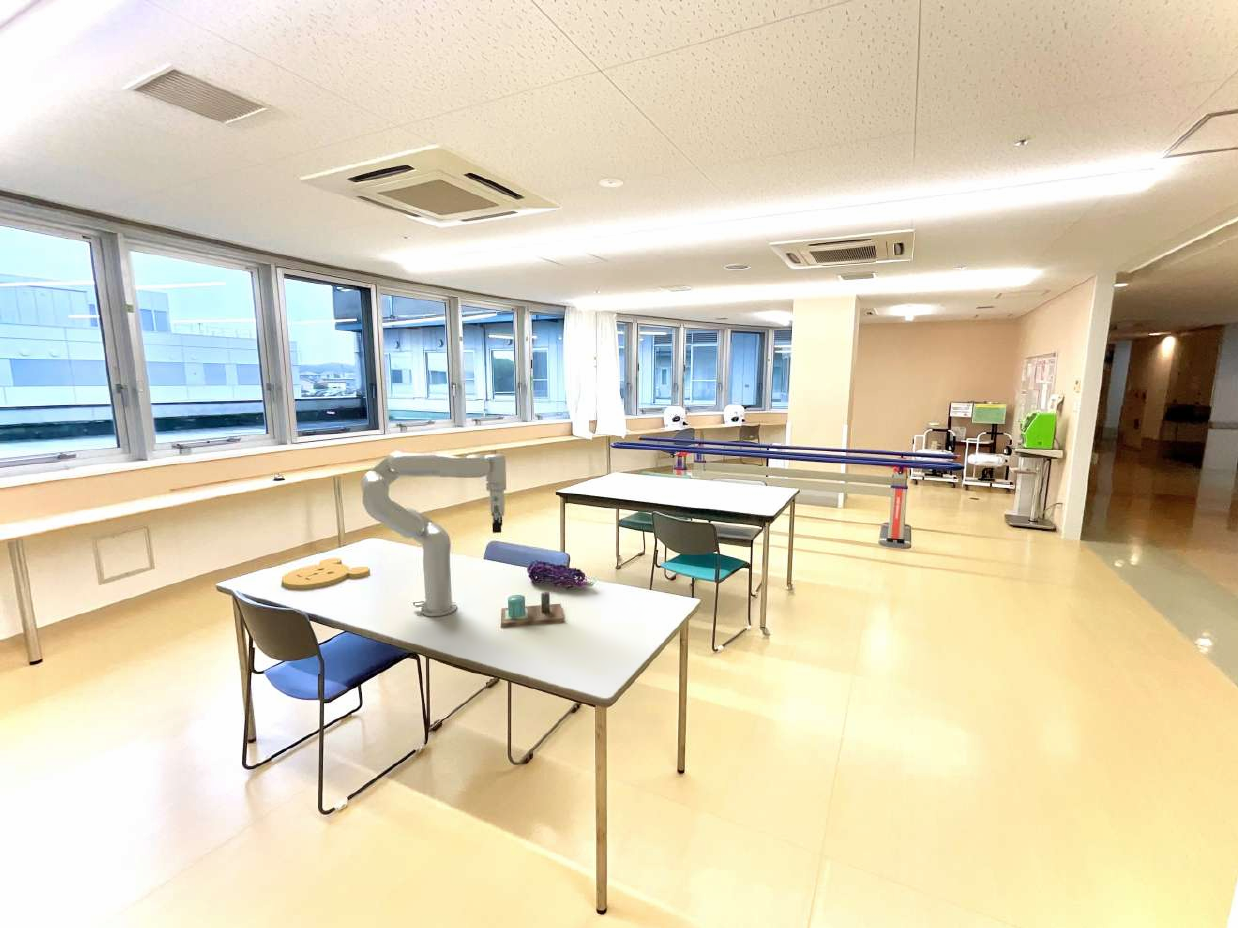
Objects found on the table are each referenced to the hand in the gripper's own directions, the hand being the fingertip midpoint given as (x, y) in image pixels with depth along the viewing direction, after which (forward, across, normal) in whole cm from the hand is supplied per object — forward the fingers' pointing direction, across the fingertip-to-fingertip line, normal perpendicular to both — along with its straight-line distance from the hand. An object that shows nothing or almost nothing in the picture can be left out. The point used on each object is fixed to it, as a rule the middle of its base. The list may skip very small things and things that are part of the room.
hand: (497, 529), depth 209 cm
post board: (+28, -20, -12) cm, 37 cm away
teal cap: (+26, -20, -7) cm, 34 cm away
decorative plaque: (+29, +37, +78) cm, 91 cm away
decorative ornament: (+28, +8, -25) cm, 39 cm away
